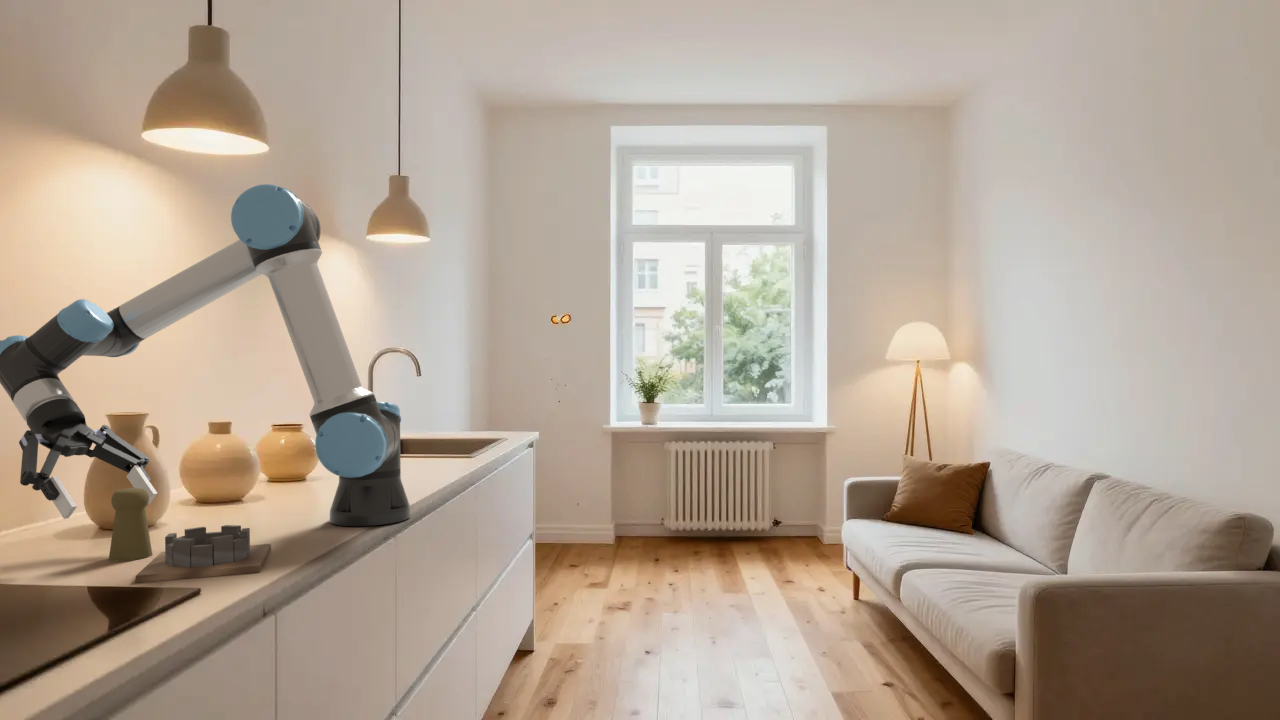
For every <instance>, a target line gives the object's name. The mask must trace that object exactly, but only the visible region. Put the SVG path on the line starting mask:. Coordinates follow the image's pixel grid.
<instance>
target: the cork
mask: <svg viewBox="0 0 1280 720" xmlns="http://www.w3.org/2000/svg"><path fill="white" fill-rule="evenodd" d="M148 502H149V495H148V492H147V491H146V490H145V489H140V488H134V487H129V488H128V487H127V488H123V489H119V490H117V491H115V492H114V493H113V494H112V496H111V507H112V508H113V509H114V510H115V512H114V513H115V514H114V519H113V527H112V532H111V533H112V534H111V535H112V536H111V541H110V548H109V554H108V560H109V561H111V562H129V561H130V562H131V561H136V560H143V559H147V558H150V557H152V556H153V551H152V549H153V548H152V543H151V536H150V532H149V531H150V530H149V524H148V519H147V511H146V507H147V506H148V505H149V504H148Z"/></svg>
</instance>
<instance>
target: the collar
mask: <svg viewBox="0 0 1280 720" xmlns="http://www.w3.org/2000/svg"><path fill="white" fill-rule="evenodd" d="M220 528H221V530H220V531H211V532H210V531H209V532H207V527H206V526H200V527H193V528H192V527H191V528H185V529H184V535H183V536H179V537H178V533H177V532H173V533H172V532H171V533H170V532H169V533H167V535H165V537H164V540H165V542H164V544H165V545H164V546H165V548H164V550H165V551H161V552H160V553H159V554H158V555H157V556H156V557H155V558H154V557H153V559H152V560H151V561H150V562H149V563H148V564H147V565H146V566H144V567H143V568H142V569H141V570H140V571H139V572H138V573H136V574H135V584H136V583H137V584H138V583H149V582H151V583H152V582H161V581H172V580H173V581H174V580H184V579H196V578H207V577H218V576H221V577H222V576H230V575H231V576H232V575H242V574H243V575H244V574H255V573H256V574H257V573H260V572H261V571H262V568H263V567H264V564H265V562H266V560H267V558H268V556H269V555H270V552H271V550H272V543H264V544H263V543H259V544H251V542H250V541H251V539H250V538H251V537H250V536H251V535H250V534H251V532H250V531H251V530H250V529H251V527H246V528H245V527H244V528H242V525H235V524H230V525H229V524H224V525H221V526H220Z"/></svg>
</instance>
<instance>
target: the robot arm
mask: <svg viewBox="0 0 1280 720" xmlns="http://www.w3.org/2000/svg"><path fill="white" fill-rule="evenodd" d="M230 222H231V226H232V229H233V231H234V232H235V233H234V234H236V236H237V238H238V239H237V240H236V241H235V242H233V243H231V244H229V245H226V246H225V247H223V248H222V249H220V250H218V251H216V252H215V253H213V254H211V255H209V256H207V257H206V258H203V259H202V260H200V261H198V262H196V263H194V264H192V265H191V266H189V267H187V268H186V269H184V270H181V271H180V272H178V273H176V274H175V275H173V276H171V277H169V278H167V279H166V280H164V281H162V282H160V283H159V284H157V285H154V286H153V287H151V288H149V289H147V290H145V291H144V292H142V293H140V294H138V295H137V296H135V297H133V298H131V299H129V300H128V301H127V300H126V302H124V303H122V304H121V305H119V306H117V307H116V308H113V309H112V310H109V311H108V312H106V311H104V309H103V308H101V307H100V306H98V305H97V304H96V303H93V302H91V301H90V300H88V299H85V298H81V299H80V298H79V299H77V300H75V301H73V302H72V303H70V304H69V305H68V306H66V307H63V308H62V309H61V310H59V312H58V313H56V315H54V316H53V317H52V318H51V319H50V320H49V321H47V322H46V323H44V324H43V325H42V326H41V327H40V328H38V329H37V330H36V331H35V332H34V333H33V334H31V335H30V336H29V337H28V336H26V335H19V334H18V335H11V336H7V337H6V338H5V339H3V340H0V385H1V386H2V388H3V389H4V390H5V392H6V393H7V395H8V397H9V398H10V399H11V400H10V401H12V403H13V405H14V406H15V408H16V409H17V411H18V412H19V414H20V416H21V417H22V419H23V420H24V421H25V422H26V425H27V427H28V429H29V430H26V431H25V432H24V434H23V435H22V437H21V438H20V440H19V441H18V443H19V446H20V448H21V450H22V455H21V467H20V477H19V479H20V481H19V484H21V485H22V486H26V487H27V486H29V485H32V486H31V488H32V490H33V491H41V492H42V494H43V496H44V497H45V499H47V500H48V501H49V502H51V501H52V503H53V504H54V506H55V508H56V509H57V510H58V512H59V513H60V515H61V517H62V518H63V519H64V520H65V519H69V518H70V517H71V515H72V514H73V513H74V511H75V510H76V509H77V507H78V505H77V504H76V503H75V500H74V499H73V498H72V496H71V494H70V493H69V492H68V490H67V489H66V487H65V485H64V483H63V482H62V481H61V479H60V478H59V476H58V475H52V472H53V471H54V468H55V466H56V465H57V461H58V460H59V458H60V456H63V457H65V458H66V457H67V458H68V457H72V456H84V455H85V456H87V457H89V458H97V459H98V460H101V461H103V462H105V463H106V464H109V465H111V466H113V467H115V468H117V469H119V470H121V471H124V472H126V473H127V475H126V478H127V480H128V481H129V482H130V484H131V485H132V488H140V489H145V490H146V491H147V492H148V495H149V502H148V505H150V504H151V503H152V501H153V500H154V499H155V497H157V494H158V492H157V490H156V489H155V487H154V485H152V483H151V481H152V480H151V477H150V475H149V474H148V473H147V472H146V470H145V468H146V466H147V465H148V464H149V462H150V461H151V458H150V457H149V456H147V455H146V454H144V453H143V452H142V451H140V450H139V449H138V448H136V447H134V446H133V445H131V444H130V443H129V442H127V441H126V440H125V439H123V438H121V437H120V436H118V435H117V434H116V433H115V432H114V431H113V430H112V429H111V428H110V427H109V425H106V424H102V425H101V427H100V428H98V429H97V428H96V429H92V428H91V427H90V426H88V424H87V422H86V417H85V414H84V413H83V411H82V409H81V408H80V407H79V405H78V404H77V402H76V401H74V398H73V396H72V395H71V393H70V392H69V391H68V389H67V388H66V386H65V385H64V383H63V382H62V380H61V379H60V377H59V374H60V373H62V372H63V371H64V370H66V369H68V367H69V366H71V365H72V364H73V363H75V362H77V360H78V359H80V358H81V357H83V356H90V357H92V356H93V357H95V356H96V357H98V356H99V357H107V358H118V357H119V358H120V357H123V356H127V355H130V354H131V353H133V352H134V351H135V350H136V349H137V348H138V347H139V346H140V343H141V342H143V341H144V340H146V339H148V338H149V337H152V336H153V335H155V334H157V333H158V332H161V331H162V330H164V329H166V328H167V327H169V326H171V325H173V324H175V323H177V322H179V321H180V320H182V319H184V318H186V317H188V316H189V315H191V314H193V313H194V312H197V311H198V310H200V309H202V308H203V307H205V306H207V305H209V304H211V303H213V302H214V301H216V300H218V299H220V298H221V297H223V296H225V295H227V294H229V293H230V292H232V291H235V290H236V289H237V288H239V287H241V286H243V285H245V284H247V283H248V282H250V281H252V280H254V279H256V278H257V277H259V276H261V275H263V276H265V277H267V278H268V281H269V283H270V286H271V288H272V291H273V294H274V298H275V300H276V303H277V305H278V307H279V311H280V313H281V317H283V321H284V323H285V327H286V329H287V332H288V335H289V337H290V340H291V343H292V346H293V349H294V351H295V353H296V356H297V360H298V362H299V365H300V367H301V370H302V373H303V376H304V378H305V381H306V383H307V386H308V389H309V393H310V394H311V397H312V400H313V406H312V409H311V410H310V412H309V417H310V420H311V423H312V426H313V429H314V431H315V434H316V436H315V440H314V443H315V444H314V445H315V447H314V448H315V452H316V453H315V454H316V456H317V458H318V460H319V462H320V463H321V465H322V466H323V467H324V468H325V469H326V470H327V471H329V472H330V473H331V474H334V475H335V476H338V485H337V487H336V491H335V494H334V497H333V500H332V503H331V506H330V509H329V523H330V524H332V525H335V526H342V527H343V526H345V527H370V526H381V525H389V524H395V523H399V522H404V521H406V520H408V519H410V517H411V505H410V502H409V499H408V496H407V493H406V491H405V488H404V485H403V482H402V477H401V475H402V474H401V473H402V472H401V467H402V466H401V465H402V463H401V421H402V416H401V413H400V412H401V411H400V410H401V409H400V408H399V405H397V404H396V403H394V402H389V401H387V402H384V401H377V398H376V396H375V394H374V392H373V391H371V390H369V389H366V388H364V386H362V383H361V380H360V377H359V375H358V372H357V369H356V367H355V363H354V362H353V358H352V356H351V353H350V350H349V347H348V344H347V342H346V339H345V336H344V334H343V331H342V328H341V326H340V323H339V321H338V317H337V315H336V312H335V309H334V306H333V304H332V302H331V297H330V296H329V294H328V290H327V287H326V284H325V282H324V279H323V277H322V273H321V271H320V269H319V265H318V263H319V260H320V258H321V256H322V254H323V251H322V249H321V246H320V243H319V241H320V238H321V223H320V220H319V218H318V216H317V214H316V212H315V211H314V210H313V208H311V206H309V205H308V204H307V203H305V202H304V201H303V200H301V199H299V197H298V196H297V195H296V194H295V193H294V192H292V190H289V189H288V188H285V187H282V186H279V185H275V184H270V183H267V184H265V183H264V184H257V185H254V186H251V187H249V188H248V189H246V190H245V191H243V192H242V193H241V194H240V195H239V196H238V197H237V198H236V200H235V202H234V203H233V205H232V209H231V212H230ZM39 444H40V445H41V446H43V447H45V448H47V450H49V452H48V454H47V456H46V458H45V461H44V463H43V465H42V467H41V469H40V471H39V472H37V469H38V468H37V467H38V466H37V465H38V453H39ZM93 444H94V445H95V446H94V448H93V449H91V448H92V445H93ZM51 475H52V476H51ZM50 476H51V477H50Z"/></svg>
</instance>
